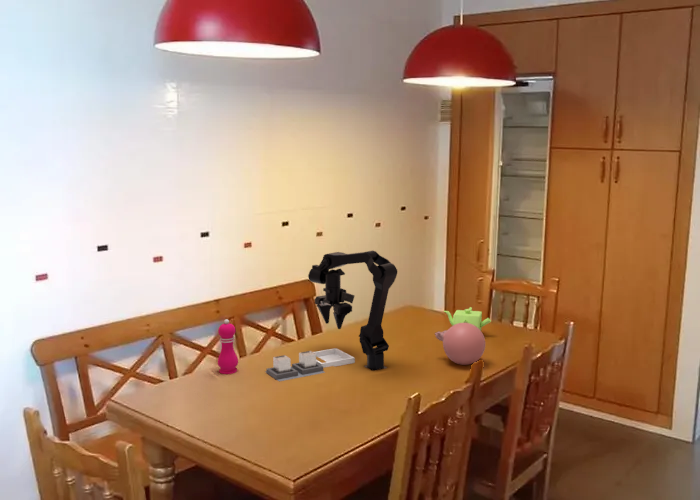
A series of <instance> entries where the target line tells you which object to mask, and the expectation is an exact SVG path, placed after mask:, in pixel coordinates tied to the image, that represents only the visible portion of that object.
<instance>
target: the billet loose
mask: <svg viewBox="0 0 700 500" xmlns="http://www.w3.org/2000/svg"><path fill="white" fill-rule="evenodd" d="M313 352H314V351H312V350H307V351H301V352H298V363H299V367H301V368H303V369H307V368H313V367H316V360H317V356H316V354H315V353H313Z"/></svg>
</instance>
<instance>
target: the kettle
mask: <svg viewBox="0 0 700 500" xmlns="http://www.w3.org/2000/svg"><path fill="white" fill-rule="evenodd" d="M443 312H444V313H445V314H446V315H447V317H448V322H449V323H450V324H451V326H453V325H455V324H458V323H470V324H472V325H474V326H476V327H477V328H479V329H480V331H481V332H482V328H483V327H485V326H486V325H488V324H490V323H491V322H492V320H491V318H489V317H487V318H485V319H484V320H482V317H483V315H482V313H483V311H482V310H481V311H479V310H473V307H471V306H469V308H464V310H462V309H456V311H455V312H454V314H453V316H452V314H451V312H450V311H449V310H443Z"/></svg>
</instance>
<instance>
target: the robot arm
mask: <svg viewBox="0 0 700 500" xmlns="http://www.w3.org/2000/svg"><path fill="white" fill-rule="evenodd" d="M361 263H364V264H365V265H366V267H367V270H368V271H369V273H371V274H372V283H373V285H374V290H373V295H372V299H371V300H372V301H371V306H370V311H369V315H368V320H367V324H365V325H361V326H360V328H359V329H360V330H359V331H360V332H359V335H358V337H359V343H360V347H361V349H362V354H364V355H366V358H367V359H366V365H364V366H363V368H366V369H368V370H369V371H373V372H375V371H379V370H380V371H381V370H384V369H388V367H387V366H385V363H384V361H385V353H384V352H387V351H388V350H389V349H390V346H389V343H388V342H387V340H386V339H385V338H384V330H383V326H382V323H383V318H384V313H385V308H386V304H387V300H388V294H389V290H390V288H391V287H392V286H393V284H394V283H395V281H396V278H397V276H398V269H397V267H396V266H395V264H394V263H392V262H391V261H390V260H389V259H387V258H386V257H384V256H381V254H379V253H378V252H377V251H376V250H369V251H361V252H353V253H346V252H343V251H342V252H340V251H335V252H330V253H325V254H323V257H322V260H321V261H320V262H319V265H318V264H313V265H312V266H311V269H310V270H309V272H308V275H307V277H308V280H309V282H311V283H313V284H314V283H316V284H319V285H325V287H323V289H322V290H323V292H325V294H323V295H318V296H317V295H316V297H315V298H314V305H316V307H317V309H318V310H319V312H320V314H321V316H322V318H323V321H324V322H325V324H326V325H328V324H329V323H330V315H331V309H332V311H333V312H332V313H333V318H334V320H335V324H336V325H335V326H336V327H337V329H338V330H341V329H342V326H343V324H344V321H345V319H346V316H347V315H349V314H350V313H352V312H353V305H352V304H353V302H354V299H355V294H351V293H349V292H347V289H345V288H342V287H341V286H342V285H341V284H342V283H341V279H342V278H341V276H345V275H346V273H345V272H344V271H343V270H342V268H341V267H344V266H346V265H353V264H361ZM336 268H337V269H336Z"/></svg>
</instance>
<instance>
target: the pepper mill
mask: <svg viewBox="0 0 700 500" xmlns="http://www.w3.org/2000/svg"><path fill="white" fill-rule="evenodd" d="M217 332H218V335H219V336H220V337H219V342H221V349H220V353H219V355H218V357H217V366H218V367H219V370H218V372H219V373H220V374H222V375H232V374H235V373H237V372H238V367H237V366H238V364H239V359H238V355H237V354H236V351H235V349H234V342H235V334H236V332H237V331H236V327H235V326H234V324H233V323H230V320H229V319H224V320H223V323H222V324H221V325H220V326H219V327H218V331H217Z"/></svg>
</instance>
